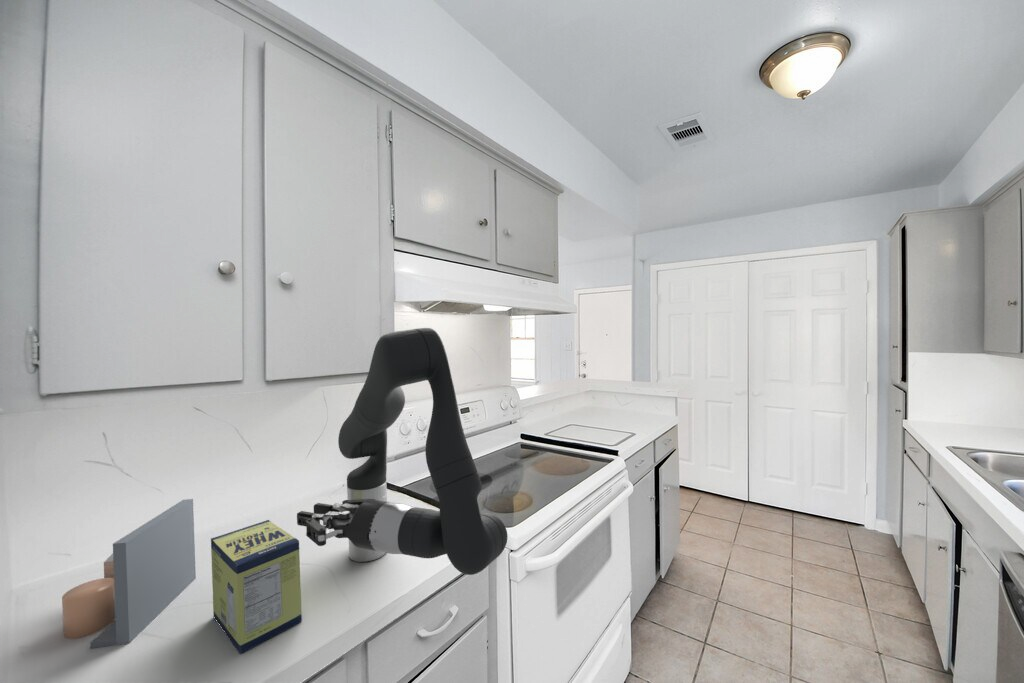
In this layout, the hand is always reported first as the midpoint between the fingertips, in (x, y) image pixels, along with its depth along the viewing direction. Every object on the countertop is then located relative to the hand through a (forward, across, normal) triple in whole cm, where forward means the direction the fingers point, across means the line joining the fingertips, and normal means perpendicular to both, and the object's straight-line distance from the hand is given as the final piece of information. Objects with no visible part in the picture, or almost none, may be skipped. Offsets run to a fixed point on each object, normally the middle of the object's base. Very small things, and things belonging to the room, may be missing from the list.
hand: (307, 513), depth 73 cm
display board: (+37, +5, +22) cm, 44 cm away
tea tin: (+47, +3, +22) cm, 52 cm away
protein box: (+13, 0, +22) cm, 26 cm away
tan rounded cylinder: (+43, +11, +22) cm, 49 cm away
